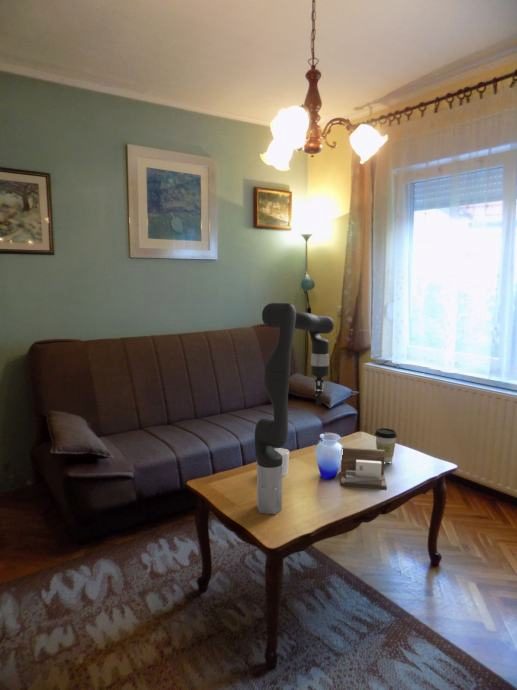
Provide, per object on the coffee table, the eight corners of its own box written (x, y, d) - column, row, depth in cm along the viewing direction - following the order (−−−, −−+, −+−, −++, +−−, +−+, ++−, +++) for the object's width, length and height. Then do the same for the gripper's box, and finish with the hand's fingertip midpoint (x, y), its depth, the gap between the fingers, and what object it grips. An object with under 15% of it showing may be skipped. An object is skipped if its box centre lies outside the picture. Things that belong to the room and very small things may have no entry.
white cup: (289, 470, 197) (289, 448, 196) (288, 477, 189) (289, 455, 188) (271, 469, 198) (271, 447, 196) (270, 476, 190) (270, 454, 189)
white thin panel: (380, 482, 182) (381, 463, 181) (355, 480, 184) (356, 461, 183) (380, 479, 185) (380, 461, 184) (355, 478, 186) (356, 459, 185)
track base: (386, 489, 179) (387, 462, 177) (340, 485, 182) (341, 459, 181) (383, 475, 192) (384, 450, 191) (340, 471, 196) (341, 447, 194)
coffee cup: (369, 459, 210) (370, 428, 208) (387, 457, 213) (389, 426, 211) (381, 467, 201) (382, 435, 199) (400, 465, 204) (401, 433, 202)
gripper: (328, 367, 179) (327, 406, 181) (329, 361, 193) (328, 398, 195) (309, 366, 180) (309, 405, 182) (311, 361, 194) (311, 397, 196)
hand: (319, 401), depth 189 cm, fingers open, 8 cm apart
